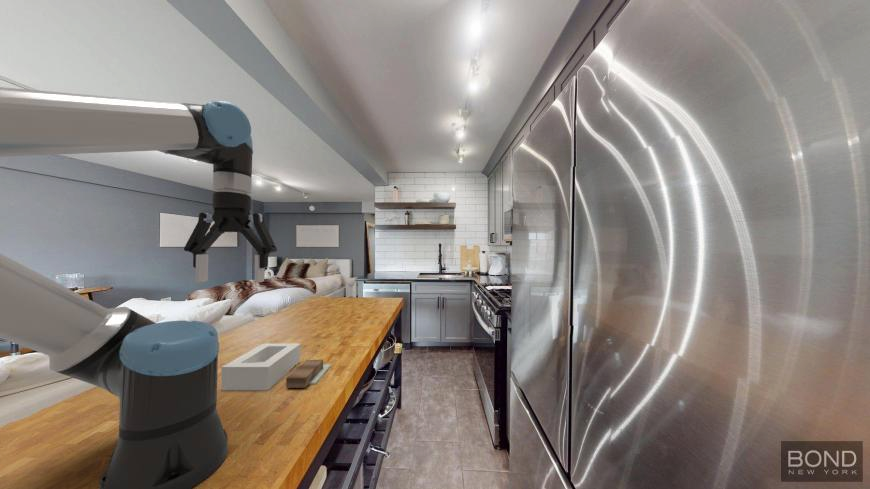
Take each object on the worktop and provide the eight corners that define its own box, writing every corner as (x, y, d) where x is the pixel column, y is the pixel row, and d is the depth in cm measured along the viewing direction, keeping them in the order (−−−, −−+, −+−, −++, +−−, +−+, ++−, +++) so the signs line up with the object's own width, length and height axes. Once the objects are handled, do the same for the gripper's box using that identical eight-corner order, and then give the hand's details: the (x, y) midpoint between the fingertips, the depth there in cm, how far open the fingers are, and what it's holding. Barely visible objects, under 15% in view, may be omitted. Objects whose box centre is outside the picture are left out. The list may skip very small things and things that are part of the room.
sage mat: (315, 384, 75) (315, 382, 75) (285, 384, 75) (285, 382, 75) (331, 365, 87) (331, 364, 87) (305, 365, 87) (305, 364, 87)
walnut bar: (305, 387, 72) (305, 377, 72) (286, 387, 72) (286, 377, 72) (323, 368, 84) (323, 359, 84) (306, 367, 84) (306, 359, 84)
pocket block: (268, 390, 72) (268, 366, 72) (221, 390, 71) (221, 367, 71) (300, 362, 90) (300, 343, 90) (262, 362, 89) (263, 343, 89)
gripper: (292, 197, 71) (291, 280, 70) (193, 196, 70) (191, 279, 69) (276, 190, 63) (274, 284, 63) (164, 189, 62) (162, 283, 62)
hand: (230, 282), depth 66 cm, fingers open, 13 cm apart
